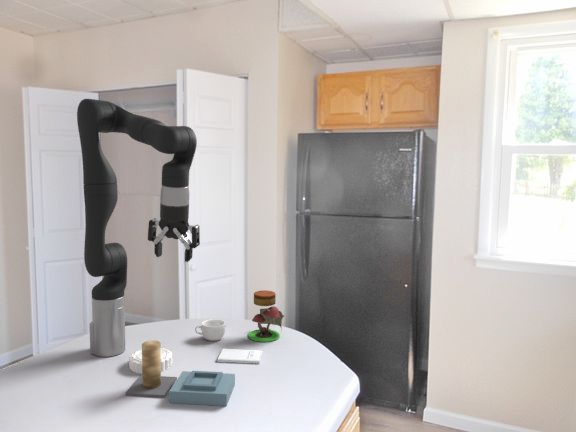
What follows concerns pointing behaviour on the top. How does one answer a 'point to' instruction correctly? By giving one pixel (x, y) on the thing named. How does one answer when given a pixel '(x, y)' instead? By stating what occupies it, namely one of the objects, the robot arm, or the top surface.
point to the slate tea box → (202, 388)
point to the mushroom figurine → (266, 317)
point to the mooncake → (136, 360)
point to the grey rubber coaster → (157, 392)
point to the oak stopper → (151, 364)
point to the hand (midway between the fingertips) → (173, 258)
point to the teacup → (212, 329)
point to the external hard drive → (240, 356)
